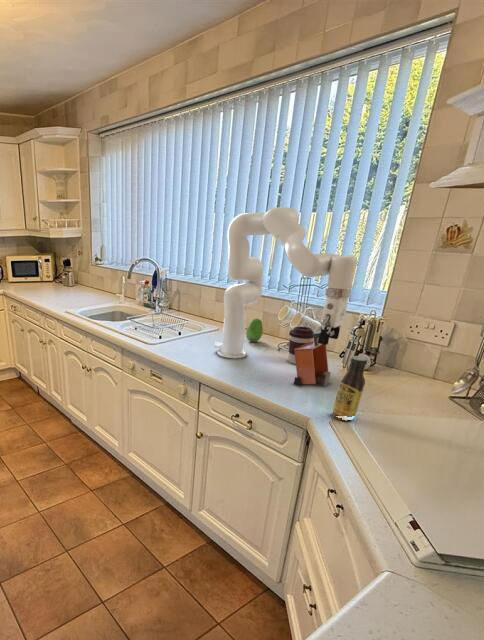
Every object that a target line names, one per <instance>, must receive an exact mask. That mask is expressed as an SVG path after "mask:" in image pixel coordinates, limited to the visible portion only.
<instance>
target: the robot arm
mask: <svg viewBox="0 0 484 640" xmlns="http://www.w3.org/2000/svg"><path fill="white" fill-rule="evenodd" d="M299 221H300V216H299V212H298V211H297V210H296V209H295V208H293V207H282V206H281V207H280V206H278V207H277V206H276V207H272V208H270V209H268V210H267V211H266V212H244V213H240V214H238V215H236V216H235V217H234V218H233V219H232V220H231V221H230V223H229V226H228V229H227V243H228V255H227V256H228V257H227V275H228V278H229V280H231V281H233V282H243V283H237V284H232V285H230V286H229V287H227V288H226V289H225V291H224V293H223V305H224V307H223V308H224V311H223V312H224V313H223V326H222V337H221V342H218V341H215V343H214V348H218V350H217V353H216V354H217V355H218V356H220V357H222V358H226V359H241V358H245V357H246V355H247V352H246V351H244V342H245V336H246V327H247V311H246V308H245V306H250V305H254V304H256V303H258V302H259V301H260V299H261V297H262V292H263V277H264V268H263V263H262V262H261V260H260V259H259V258H258V257H254V256H250V252H251V251H250V249H251V247H250V243H249V240H248V238H247V237H248V236H264V235H271V236H273V237H274V238H275V239H276V240H277V241H278V243H280V244H281V245H282V246H283V248H284V249H285V254H286V256H287V260H288V262H289V263H290V264H291V266H292V267H294V269H295V270H296V271H298V273H300V274H301V275H303V276H304V277H306V278H314V277H322V276H323V277H324V276H328V277H327V282H326V287H325V293H324V298H326V299H325V302H324V307H323V310H322V316H321V319H320V329H319V332H320V334H319V339H318V343H320V344H325V345H326V346H327V345H328V344H329V341H330V339H333V340H338V339H339V336H340V331H341V326H342V325H344V323H345V320H346V314H347V310H348V309H347V308H348V299H350V297H351V293H352V287H353V282H354V279H355V274H356V269H357V265H358V258H357V257H356V256H355V255H351V254H350V255H349V254H335V253H328V252H325V253H313V252H312V251H311V249H309V248H308V247H307V246H306V245H305V244H304V242H303V240H304V239H305V237H306V235H307V232H306V229H305V228H304V227H303V226H302V225H301V224H299ZM333 330H334V335H332V336H330V333H329V332H330V331H333ZM329 336H330V337H329Z"/></svg>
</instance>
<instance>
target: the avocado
mask: <svg viewBox="0 0 484 640" xmlns="http://www.w3.org/2000/svg"><path fill="white" fill-rule="evenodd" d="M263 332H264V329H263V323H262V320H261V319H259V318H253V319H252V320H251V321H250V322H249V324H248V325H247V328H246V330H245V337H246V339H247V340H248V341H249V342H250V343H257V342H259V341H260V340H261V339H262V336H263Z"/></svg>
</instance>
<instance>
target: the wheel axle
mask: <svg viewBox="0 0 484 640" xmlns="http://www.w3.org/2000/svg"><path fill="white" fill-rule="evenodd" d="M300 382H301V378H297V376H295V377H294V380H293V385H295V386H298V387H300V386H301V384H300Z"/></svg>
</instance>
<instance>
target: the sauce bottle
mask: <svg viewBox="0 0 484 640" xmlns="http://www.w3.org/2000/svg"><path fill="white" fill-rule="evenodd" d="M367 363H368V358H366V357H364V356H361V355H353V356H351V358H350V364H349V368H348V370H347V372H346V373H345V375H344V376H343V378H342V379H341V381H340V383H339V386H338V389H337V393H336V397H335V401H334V404H333V408H332V417H333V418H334V419H336V420H339V421H342V422H344V421H343V420H342V418H338V417H336V416H347V417H352V416H355V417H356V416H357V412H358V409H359V406H360V402H361V399H362V395H363V392H364V387H365V384H366V379H365V376H364V373H365V371H364V370H365V367H366V365H367Z"/></svg>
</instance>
